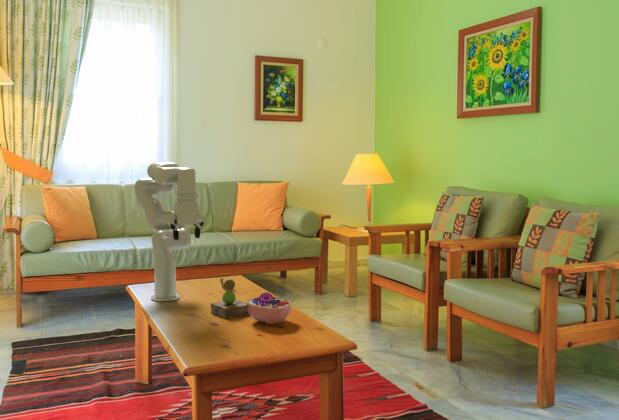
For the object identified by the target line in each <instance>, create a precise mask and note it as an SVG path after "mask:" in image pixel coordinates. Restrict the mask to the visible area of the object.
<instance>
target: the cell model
mask: <svg viewBox="0 0 619 420" xmlns="http://www.w3.org/2000/svg"><path fill="white" fill-rule="evenodd" d="M245 303H247V306H248V313H249V315H248V316H250V318H252V320H255V321H257V322H263V323H265V324H267V325H274V324H280V323H283V322H284V321H285V320H286V319H287V317H288V316H289V315H290V314H291V312H292V303H291V300H289V299H286V298H282V297H279V296H278V297H276V296H273V295H272V294H271V293H270V292H263V293H261V294H260V295H259V296H258V297H253V298H250V299H247V300H245Z"/></svg>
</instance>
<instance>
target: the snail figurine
mask: <svg viewBox="0 0 619 420" xmlns="http://www.w3.org/2000/svg"><path fill="white" fill-rule="evenodd" d="M219 277H220V279H219V281H220V285H221V288H222V290H223V291H225V292H224V293H223V294H222V297H221V298H222V302H224V303H226V304H232V303H234V301H235V299H236V298H237V297H236V294H235V293H234V291H236V289H235V287H236V283H235V281H234V280H233V279H230V278H229V279H226V280H225V281H224V278H222V274H220V275H219ZM236 300H237V299H236Z"/></svg>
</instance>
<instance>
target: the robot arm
mask: <svg viewBox="0 0 619 420" xmlns="http://www.w3.org/2000/svg"><path fill="white" fill-rule="evenodd" d="M146 172H147V175H148V177H143V178H139V179H138V180H136V181H135V183H134V195H135V197H136V200H137V202H138V204H139V205H140V207H141V209H143V211H144V214H145V217H146V220H147V222H148V225H149V228H150V229H151V231H152V232H153V233H152V235H151V244H152V251H153V265H154V266H153V269H154V271H153V273H154V289H153V291H154V294H153V295H151V297H150V298H151V299H150V300H152V301H155V302H172V301H177V300H179V299H180V297H181V295H180V294H179V293H177V267H176V266H177V265H176V264H177V263H176V261H177V260H176V258H175V256H174V255H173V253H172V252H171V251H174V250H175V251H176V250H177V251H178V250H185V249H188V248H189V247H190V246H191V243H192V237H191V232H190V230H189V228H188V226H194V227H195V228H194V238H196V239H200V237H201V229H202V227H203V226H204V224H205V222H206V219H207V218H206V217H204V216H202V214H200V211H199V210H200V209H199V205H198V201H197V198H199V195H198V194H197V193H196V192H197V191H196V190H197V189H196V184H197V183H196V170H195V169H194V168H193V167H186V166H179V164H178V163H176V162H174V161H155V162H152V163H151V164H149V165H148V166H147V170H146ZM175 187H176V199H177V200H176V201H175V202H174V207H173V210H169V211H168V210H164V207H163V205H162V203H161V202H160V200H158V199H157V198H155V197H154V196H168V195H171V194H172V193H173V191H174V189H175Z"/></svg>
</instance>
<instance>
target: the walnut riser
mask: <svg viewBox="0 0 619 420" xmlns="http://www.w3.org/2000/svg"><path fill="white" fill-rule="evenodd" d="M210 313H211V314H213V315H216V316H218V317H221V318H223V319H226V320H227V319H232V318H237V317H238V318H239V317H244V316H250V315H249V313H248V306H247V303H246V301H245V302H244V301H241V300H239V299H235V301H234V303H232V304H226V303H224V302H223V301H218V302H211V303H210Z"/></svg>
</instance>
